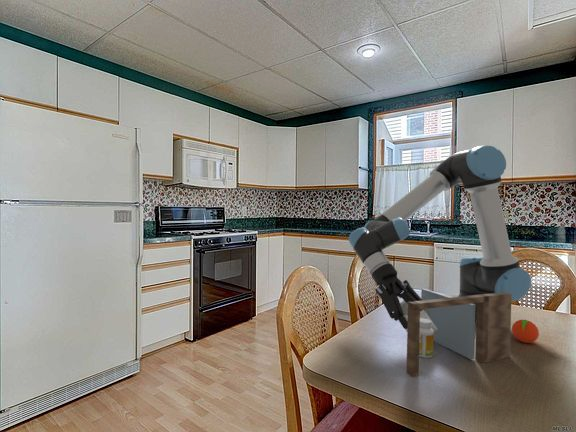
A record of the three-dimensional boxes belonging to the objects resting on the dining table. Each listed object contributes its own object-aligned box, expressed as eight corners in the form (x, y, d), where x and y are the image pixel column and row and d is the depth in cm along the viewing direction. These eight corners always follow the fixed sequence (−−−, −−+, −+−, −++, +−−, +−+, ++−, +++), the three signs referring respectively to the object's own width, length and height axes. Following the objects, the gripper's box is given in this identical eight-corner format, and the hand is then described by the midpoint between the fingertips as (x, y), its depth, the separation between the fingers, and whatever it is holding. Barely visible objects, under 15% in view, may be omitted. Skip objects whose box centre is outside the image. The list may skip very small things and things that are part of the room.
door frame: (502, 354, 94) (504, 292, 93) (509, 357, 92) (511, 293, 91) (406, 373, 82) (408, 301, 81) (412, 376, 80) (413, 304, 80)
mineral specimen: (441, 323, 120) (441, 304, 119) (427, 326, 116) (427, 307, 116) (408, 310, 134) (408, 294, 133) (395, 313, 131) (395, 296, 130)
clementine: (536, 349, 97) (537, 326, 97) (509, 343, 102) (509, 320, 102) (539, 342, 103) (540, 319, 103) (513, 336, 108) (513, 314, 108)
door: (476, 358, 90) (478, 304, 89) (468, 360, 89) (469, 305, 88) (425, 333, 108) (426, 288, 107) (418, 334, 107) (419, 289, 106)
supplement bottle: (432, 351, 95) (433, 318, 94) (434, 359, 90) (435, 324, 89) (412, 348, 96) (413, 316, 96) (413, 356, 91) (414, 322, 91)
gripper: (393, 272, 113) (436, 333, 100) (352, 279, 101) (394, 349, 88) (407, 259, 109) (454, 321, 96) (365, 265, 97) (412, 336, 84)
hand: (425, 335), depth 92 cm, fingers open, 8 cm apart
